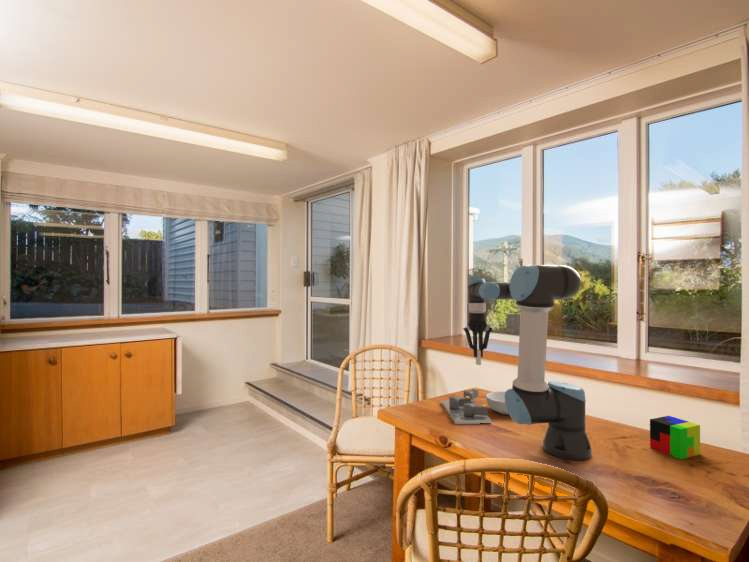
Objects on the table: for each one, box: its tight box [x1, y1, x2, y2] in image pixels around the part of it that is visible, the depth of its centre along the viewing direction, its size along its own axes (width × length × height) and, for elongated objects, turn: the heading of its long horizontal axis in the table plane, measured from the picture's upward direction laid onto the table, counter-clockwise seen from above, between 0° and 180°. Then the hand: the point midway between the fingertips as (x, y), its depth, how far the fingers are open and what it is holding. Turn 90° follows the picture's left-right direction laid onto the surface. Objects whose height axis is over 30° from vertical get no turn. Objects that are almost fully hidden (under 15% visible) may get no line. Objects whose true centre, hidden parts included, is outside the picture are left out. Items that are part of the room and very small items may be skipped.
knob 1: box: [448, 396, 471, 409], centre depth 178 cm, size 10×4×4 cm, turn 101°
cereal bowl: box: [486, 390, 510, 416], centre depth 176 cm, size 17×17×7 cm
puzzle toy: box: [649, 415, 701, 460], centre depth 135 cm, size 10×10×10 cm
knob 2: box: [463, 388, 479, 402], centre depth 189 cm, size 10×4×4 cm, turn 137°
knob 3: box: [464, 403, 489, 417], centre depth 167 cm, size 10×4×4 cm, turn 77°
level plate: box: [440, 399, 492, 425], centre depth 176 cm, size 28×15×2 cm, turn 2°
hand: (478, 364), depth 177 cm, fingers closed
